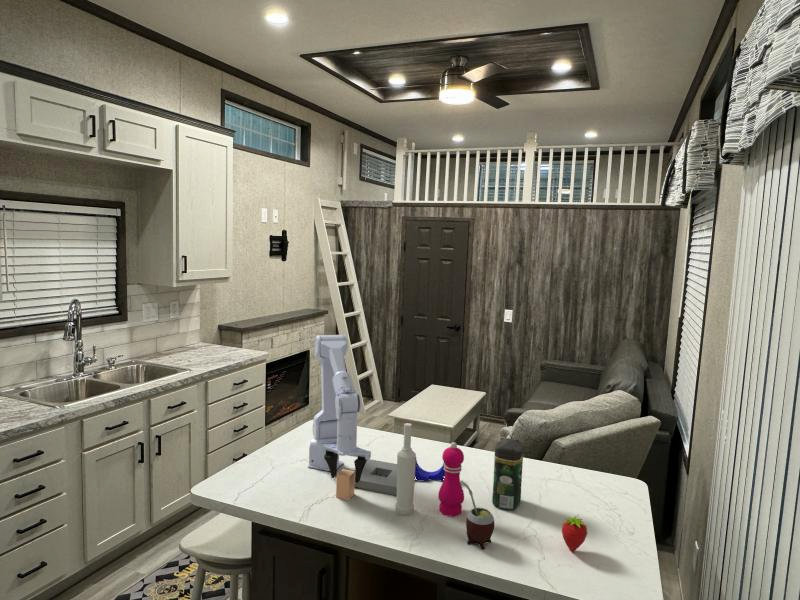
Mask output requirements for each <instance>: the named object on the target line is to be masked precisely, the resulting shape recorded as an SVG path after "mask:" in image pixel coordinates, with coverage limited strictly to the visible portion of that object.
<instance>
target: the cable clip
mask: <svg viewBox="0 0 800 600" xmlns="http://www.w3.org/2000/svg"><path fill="white" fill-rule="evenodd" d="M415 476H416V479H417V480H424V481H423V482H427V481H428V482H429V479H432V480H431V481H438V480H441V481H440V482H443V481H444V480H443V479H444V477H445V470H444V462H443V463H442V465H441V467H440V468H439V469H437V470H435V471H427V470H424V469H422V467H421V466H420V465H419V463H418V461H417V459H416V463H415ZM417 480H416V481H417Z"/></svg>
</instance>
